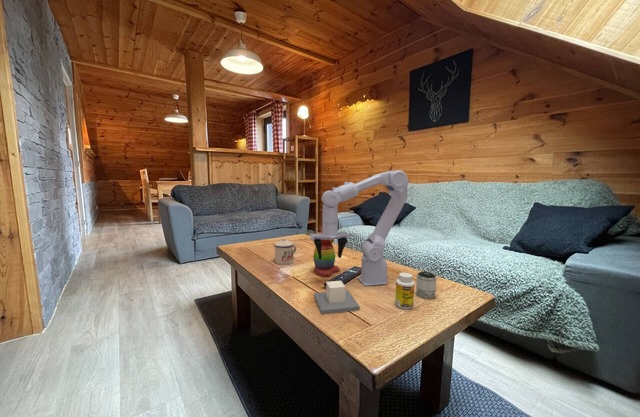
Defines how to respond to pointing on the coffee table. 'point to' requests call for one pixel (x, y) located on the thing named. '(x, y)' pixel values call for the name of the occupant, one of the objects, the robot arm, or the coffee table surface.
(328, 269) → the stacking bear
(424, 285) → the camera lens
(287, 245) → the teacup with lid
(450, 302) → the coffee table surface
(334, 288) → the block
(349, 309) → the plate
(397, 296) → the supplement bottle
